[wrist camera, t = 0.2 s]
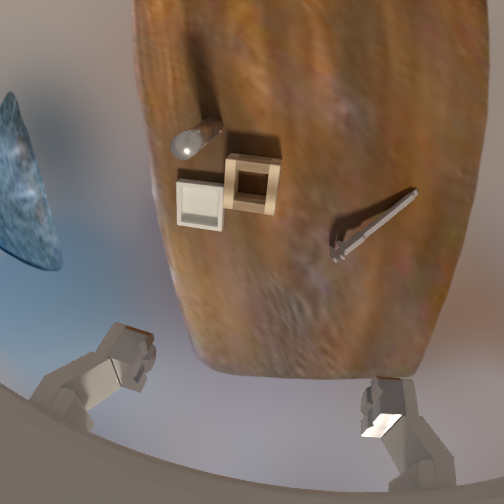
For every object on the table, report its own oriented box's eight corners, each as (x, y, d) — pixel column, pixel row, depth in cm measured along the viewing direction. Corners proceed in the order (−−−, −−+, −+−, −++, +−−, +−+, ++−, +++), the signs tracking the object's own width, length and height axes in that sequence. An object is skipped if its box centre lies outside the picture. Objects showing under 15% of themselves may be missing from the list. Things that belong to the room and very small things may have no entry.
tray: (180, 178, 60) (176, 181, 58) (226, 183, 59) (223, 187, 57) (180, 220, 65) (177, 224, 63) (224, 226, 64) (221, 231, 62)
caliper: (332, 249, 63) (333, 267, 58) (328, 245, 63) (330, 263, 57) (418, 192, 53) (428, 206, 48) (415, 187, 53) (425, 201, 48)
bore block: (231, 152, 56) (225, 158, 52) (282, 159, 55) (280, 166, 51) (228, 198, 60) (223, 207, 57) (276, 205, 60) (273, 215, 56)
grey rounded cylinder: (203, 116, 53) (170, 133, 40) (223, 117, 52) (196, 135, 40) (202, 135, 55) (170, 158, 42) (222, 137, 54) (195, 161, 42)
